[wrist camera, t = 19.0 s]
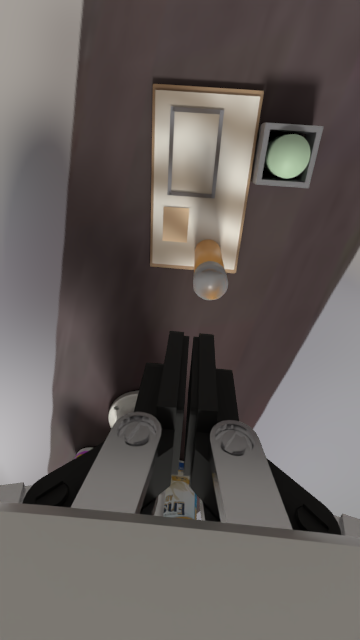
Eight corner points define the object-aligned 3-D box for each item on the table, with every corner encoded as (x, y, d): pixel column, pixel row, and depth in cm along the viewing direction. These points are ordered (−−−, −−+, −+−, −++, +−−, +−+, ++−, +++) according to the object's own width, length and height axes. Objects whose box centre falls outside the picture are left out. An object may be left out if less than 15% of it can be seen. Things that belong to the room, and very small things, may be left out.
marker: (218, 266, 40) (224, 301, 31) (192, 263, 40) (191, 298, 31) (223, 240, 38) (230, 270, 29) (195, 237, 38) (195, 266, 29)
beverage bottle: (166, 489, 64) (152, 618, 46) (147, 463, 60) (124, 592, 43) (204, 480, 62) (205, 612, 44) (186, 453, 58) (180, 584, 41)
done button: (294, 176, 35) (304, 179, 31) (259, 173, 35) (266, 177, 31) (303, 136, 33) (315, 135, 29) (266, 134, 33) (274, 132, 29)
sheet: (235, 271, 41) (235, 274, 40) (150, 265, 41) (149, 267, 40) (263, 91, 31) (264, 90, 31) (153, 84, 32) (152, 83, 31)
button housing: (299, 184, 35) (308, 188, 32) (251, 180, 35) (255, 184, 32) (312, 128, 33) (323, 126, 30) (259, 124, 33) (265, 122, 30)
